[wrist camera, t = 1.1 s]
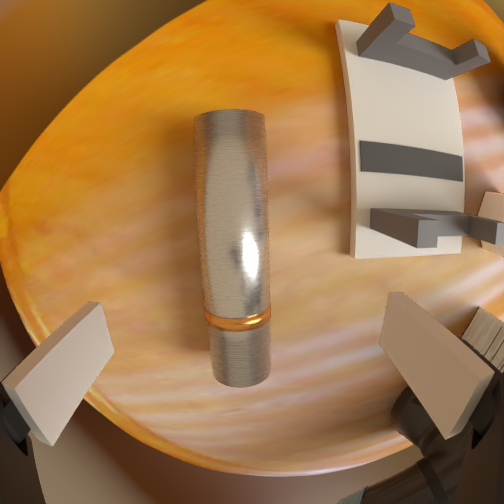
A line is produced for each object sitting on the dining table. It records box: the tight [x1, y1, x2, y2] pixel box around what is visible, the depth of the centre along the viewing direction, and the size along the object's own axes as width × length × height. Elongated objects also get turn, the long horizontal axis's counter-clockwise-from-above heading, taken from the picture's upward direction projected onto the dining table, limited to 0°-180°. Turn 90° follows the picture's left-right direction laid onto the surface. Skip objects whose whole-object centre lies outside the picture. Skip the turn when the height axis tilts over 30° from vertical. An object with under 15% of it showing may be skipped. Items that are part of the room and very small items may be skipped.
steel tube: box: [193, 109, 271, 387], centre depth 24 cm, size 24×6×6 cm, turn 2°
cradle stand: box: [335, 2, 504, 259], centre depth 19 cm, size 26×15×10 cm, turn 2°
